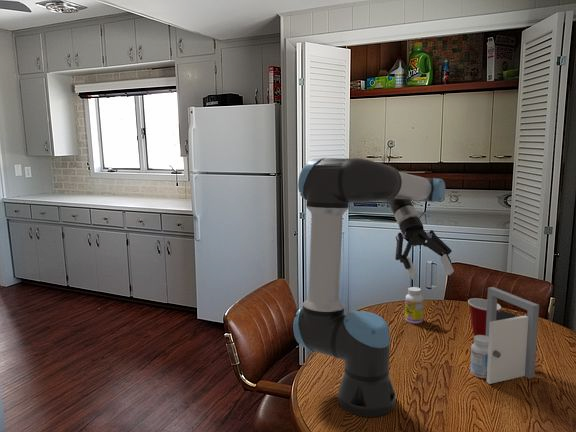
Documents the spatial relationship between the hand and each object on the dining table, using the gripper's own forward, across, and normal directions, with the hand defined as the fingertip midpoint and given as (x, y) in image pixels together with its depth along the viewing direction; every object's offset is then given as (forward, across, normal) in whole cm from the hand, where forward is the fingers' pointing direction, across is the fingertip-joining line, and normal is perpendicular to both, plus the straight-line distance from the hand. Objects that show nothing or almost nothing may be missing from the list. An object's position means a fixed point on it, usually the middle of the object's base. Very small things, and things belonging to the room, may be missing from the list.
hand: (433, 275), depth 143 cm
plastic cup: (+15, -24, -21) cm, 36 cm away
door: (+35, -9, -1) cm, 36 cm away
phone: (+8, -40, -29) cm, 50 cm away
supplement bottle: (+1, -9, -35) cm, 36 cm away
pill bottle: (+31, -5, -6) cm, 32 cm away
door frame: (+29, -17, -7) cm, 35 cm away
